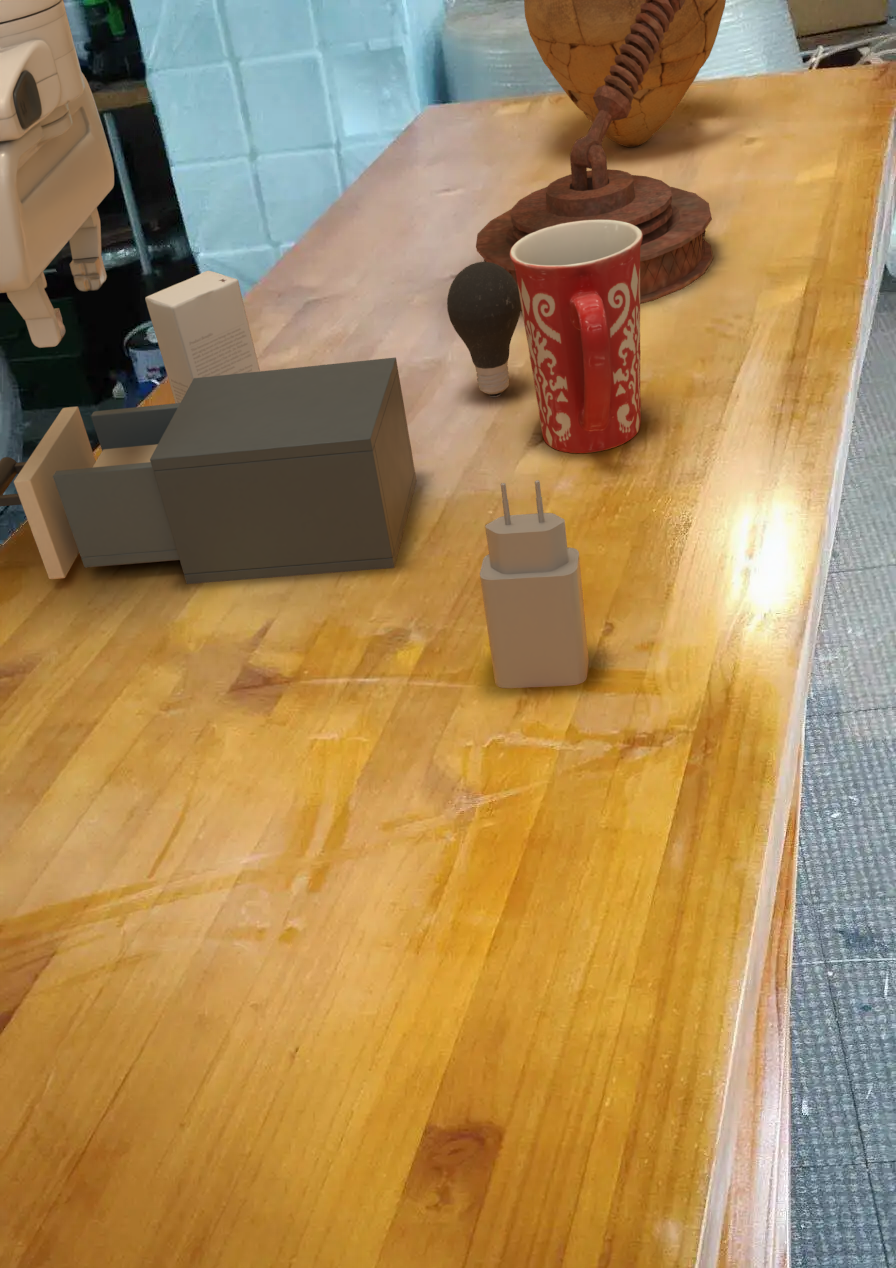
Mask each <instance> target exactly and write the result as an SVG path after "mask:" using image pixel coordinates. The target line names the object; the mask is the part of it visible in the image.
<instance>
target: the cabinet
mask: <svg viewBox="0 0 896 1268" xmlns="http://www.w3.org/2000/svg"><path fill="white" fill-rule="evenodd" d="M398 368H399V367H398V362H397V357H385V358H376V359H367V360H357V361H348V362H347V361H346V362H338V363H329V364H319V365H309V366H300V367H299V366H298V367H290V368H289V367H288V368H281V369H270V370H260V372H250V373H240V374H231V375H221V376H211V377H202V378H194V379H193V381H192V383H191V384H190V386H189V388H188V390H187V392H186V394H185V395H184V397H183V399H182V401H181V403H180V405H179V407H178V408H177V410H176V412H175V414H174V416H173V418H172V419H171V421H170V423H169V425H168V427H167V429H166V430H165V432H164V434H163V436H162V438H161V440H160V442H159V443H158V445H157V447H156V449H155V451H154V453H153V454H152V456H151V458H150V462H151V465H152V469H153V471H154V475H155V478H156V481H157V485H158V488H159V492H160V495H161V498H162V502H163V505H164V509H165V512H166V515H167V519H168V522H169V525H170V529H171V532H172V536H173V539H174V542H175V546H176V549H177V552H178V556H179V559H180V560H179V562H180V566H181V569H182V572H183V577H184V580H185V583H186V585H192V584H205V583H219V582H232V581H233V582H234V581H246V580H259V579H268V578H269V579H272V578H282V577H283V578H284V577H294V576H295V577H296V576H307V575H308V576H309V575H321V574H322V575H323V574H334V573H336V574H337V573H347V572H348V573H349V572H360V571H373V570H384V569H385V570H386V569H394V568H396V563H397V559H398V556H399V551H400V549H401V548H400V547H401V544H402V540H403V535H404V532H405V528H406V523H407V521H408V520H407V519H408V516H409V512H410V508H411V504H412V501H413V496H414V493H415V488H416V485H417V476H416V475H417V474H416V470H415V469H416V468H415V463H414V456H413V452H412V451H413V450H412V445H411V439H410V434H409V433H410V432H409V427H408V421H407V415H406V408H405V403H404V397H403V390H402V385H401V379H400V374H399V373H400V372H399V369H398Z"/></svg>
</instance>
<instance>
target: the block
mask: <svg viewBox="0 0 896 1268" xmlns="http://www.w3.org/2000/svg"><path fill="white" fill-rule="evenodd" d="M157 445H158V444H155V445H145V446H134V447H124V448H113V449H103V450H102V449H101V452H100V454H99V456H98V457H97V458H96V459H95V461H96V462H95V464H94V465H93V467H104V466H114V465H125V464H136V463H146V462H150V458H151V456H152V454H153V453H154V451H155V449H156V447H157ZM93 467H92V468H93Z"/></svg>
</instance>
